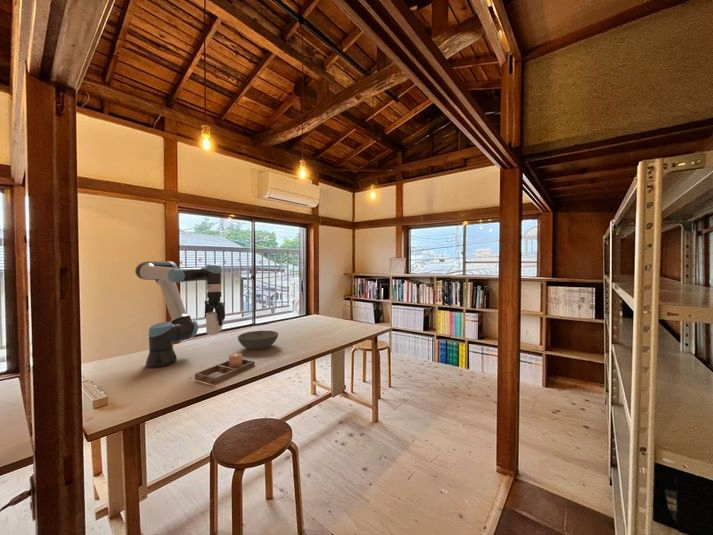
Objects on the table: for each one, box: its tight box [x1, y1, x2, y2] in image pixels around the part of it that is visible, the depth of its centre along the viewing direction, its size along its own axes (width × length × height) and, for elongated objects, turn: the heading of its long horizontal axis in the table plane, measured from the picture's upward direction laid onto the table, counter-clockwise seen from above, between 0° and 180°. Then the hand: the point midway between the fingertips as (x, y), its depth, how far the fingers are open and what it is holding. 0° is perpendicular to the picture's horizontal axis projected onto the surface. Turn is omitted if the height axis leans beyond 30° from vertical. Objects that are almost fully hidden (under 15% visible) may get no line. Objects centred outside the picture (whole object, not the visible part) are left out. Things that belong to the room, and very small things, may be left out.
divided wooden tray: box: [194, 358, 256, 386], centre depth 159 cm, size 15×26×3 cm, turn 155°
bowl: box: [237, 330, 279, 351], centre depth 201 cm, size 26×26×10 cm
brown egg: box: [228, 352, 243, 369], centre depth 165 cm, size 7×7×7 cm
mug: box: [205, 311, 225, 336], centre depth 170 cm, size 10×7×12 cm, turn 136°
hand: (214, 330), depth 171 cm, fingers closed on mug, 6 cm apart
